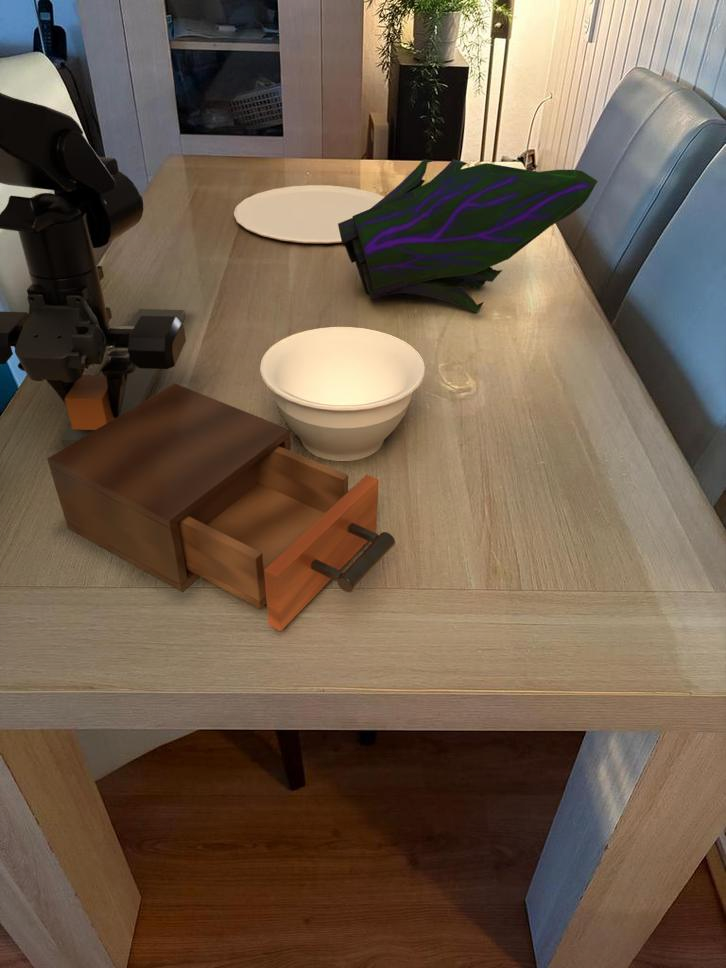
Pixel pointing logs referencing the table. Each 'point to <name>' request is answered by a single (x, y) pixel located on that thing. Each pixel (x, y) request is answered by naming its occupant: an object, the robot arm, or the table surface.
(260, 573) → the drawer
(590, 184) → the decorative plant
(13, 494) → the table surface
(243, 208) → the plate
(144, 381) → the board
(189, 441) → the cabinet
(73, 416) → the orange cube block
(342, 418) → the bowl
